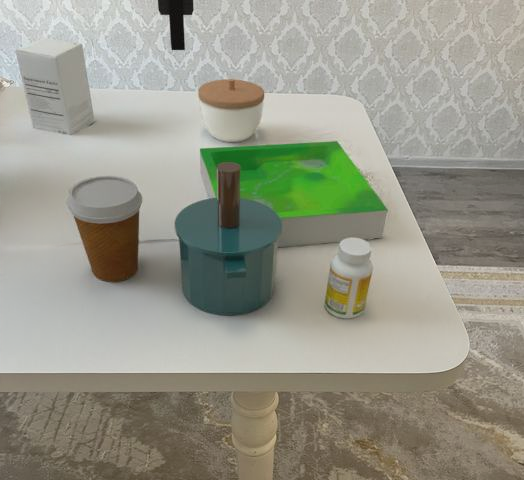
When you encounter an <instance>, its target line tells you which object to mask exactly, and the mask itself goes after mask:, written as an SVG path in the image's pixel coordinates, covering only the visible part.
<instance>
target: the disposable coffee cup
mask: <svg viewBox="0 0 524 480" xmlns="http://www.w3.org/2000/svg"><path fill="white" fill-rule="evenodd" d="M142 203H143V195H142V194H141V192H140V191H139V188H138V187H137V185H136V183H135V182H133V181H132V180H130V179H128V178H126V177H121V176H116V175H97V176H92V177H87V178H84V179H82V180H79V181H78V182H76V183H75V184H74V185H72V186H71V188H70V189H69V191H68V197H67V199H66V206H67V209H68V211H70V213H71V215H72V216H73V219H74V222H75V225H76V227H77V230H78V233H79V236H80V240H81V242H82V245H83V248H84V251H85V254H86V256H87V260H88V262H89V266H90V268H91V272H92V274H93V276H94V277H95V278H97V279H98V280H99V281H100V280H101V281H103V282H110V283H111V282H112V283H113V282H114V283H115V282H122V281H125V280H127V279H131V277H133V276H134V275H135V274H137V272H138V270H139V245H140V244H139V241H140V240H139V239H140V238H139V237H140V236H139V235H140V209H141V207H142Z"/></svg>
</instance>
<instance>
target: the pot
mask: <svg viewBox="0 0 524 480" xmlns="http://www.w3.org/2000/svg"><path fill="white" fill-rule="evenodd" d="M178 242H179V243H178V245H179V246H178V247H179V259H180V260H179V261H180V276H181V278H180V279H181V289H182V294H183V296H184V298H185V299H186V301H187V302H188V303H189V304H190V305H192V306H193V307H194V308H196V309H198V310H200V311H202V312H205V313H208V314H212V315H217V316H227V317H229V316H240V315H241V316H242V315H245V314H250V313H253V312H255V311H257V310H259V309H261V308H262V307H264V306H265V305H266V304H268V303H269V302H270V300H271V299H272V297H273V295H274V292H275V288H276V278H277V277H276V274H277V262H278V261H277V259H278V248H279V247H278V240H277V241H276V242H275V243H274V244H273V245H271V246H270V247H268V248H266V249H264V250H262V251H259V252H256V253H252V254H247V255H240V256H219V255H212V254H207V253H204V252H200V251H198V250H195V249H193V248H191V247H189V246H187V245H186V244H185V243H183V242H182V241H181V240H180V239H179V238H178Z"/></svg>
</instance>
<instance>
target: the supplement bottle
mask: <svg viewBox="0 0 524 480" xmlns="http://www.w3.org/2000/svg"><path fill="white" fill-rule="evenodd" d="M371 254H372V245H371V243H369V242H368V241H367V240H363V239H360V238H346V239H344V240H342V241H341V242H339V245H338V249H337V254H335V255H334V256H333V257H332V259H331V260H330V264H329V265H330V266H329V273H328V279H327V286H326V292H325V299H324V306H325V308H326V310H327V312H329V314H331V315H332V316H334V317H336V318H340V319H353V318H357V317H359V316H360V315H362V313H363V312H364V310H365V307H366V303H367V299H368V293H369V290H370V289H369V288H370V285H371V280H372V275H373V269H374V263H373V261H372V260H371Z"/></svg>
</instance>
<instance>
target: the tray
mask: <svg viewBox="0 0 524 480" xmlns="http://www.w3.org/2000/svg"><path fill="white" fill-rule="evenodd" d="M223 162H234V163H237V164H239V165H240V167H241V179H240V198H244V199H249V200H253V201H256V202H259V203H261V204H264V205H266V206H268V207H269V208H271V209H272V210H273V211H275V212H276V213H277V214H278V216H279V217H280V219H281V222H282V232H281V235H280V237H279V239H278V248H285V247H297V246H309V245H320V244H332V243H333V244H334V243H340V242H341V241H342V240H344V239H346V238H360V239H363V240H364V239H368V240H375V239H374V238H380V239H383V235H384V231H385V226H386V220H387V215H388V211H389V210H388V209H389V208H387V206H386V205H385V204H384V202H383V201H382V200H381V198H380V197H379V195H378V194H377V193H376V192H375V190H374V189H373V187H372V186H371V185H370V183H369V182H368V181H367V179H366V178H365V177H364V175H363V174H362V173H361V172H360V170H359V169H358V167H357V166H356V165H355V163H354V161H353V160H352V159H351V158H350V156H349V155H348V153H347V152H346V151H345V149H344V148H343V147H342V146H341V144H340V143H339V141H338V140H334V141H315V142H313V141H312V142H296V143H295V142H294V143H278V144H260V145H241V146H240V145H239V146H221V147H220V146H219V147H201V148H199V165H200V166H199V167H200V175H201V178H202V181H203V185H204V188H205V192H206V194H207V199H210V198H217V166H218V165H219V164H220V163H223Z"/></svg>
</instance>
